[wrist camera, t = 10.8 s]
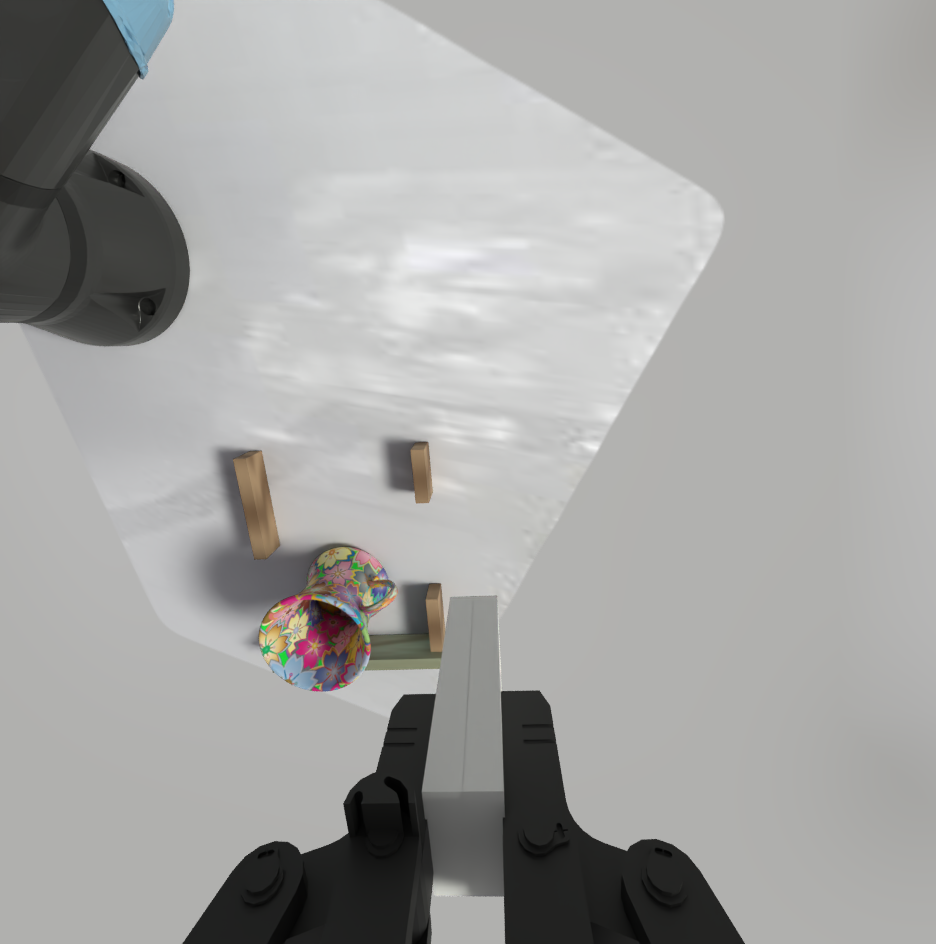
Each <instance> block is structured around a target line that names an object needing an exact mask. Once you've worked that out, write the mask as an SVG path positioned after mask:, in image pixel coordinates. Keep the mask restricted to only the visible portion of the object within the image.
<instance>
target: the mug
mask: <svg viewBox="0 0 936 944" xmlns="http://www.w3.org/2000/svg"><path fill="white" fill-rule="evenodd" d="M389 587H390V588H391V590H390V592H389ZM397 593H398V590H397V587H396V585H395V584H394V583H393V582H392V581H390V580H388V576H387V574H386V571H385V570H384V568H383V566H382V565H381V564H380V563H379V561H378V560H376V559H375V558H374V557H373V556H372V555H370V554H368V553H367V552H365V551H362V550H360V549H356V548H352V547H338V548H333V549H330V550H328V551H326V552H324V553H322V554H321V555H319V556H318V557H317V558H316V559H315V560H314V561H313V563H312V564H311V566H310V568H309V571H308V575H307V586H306V588H305V589H304V590H303V591H302V592H300V593H299V594H297V595H294V596H291V597H288V598H286V599H284V600H282V601H280V602H278V603H277V604H276V605H274V606H273V607H272V608H271V609H270V610H269V611H268V612H267V614H266V615H265V617H264V619H263V621H262V623H261V626H260V630H259V645H260V649H261V652H262V655H263V657H264V659H265V661H266V662H267V664H268V665H269V667H270V668H271V669H272V670H273V671H274V672H275V673H276V674H277V675H278V676H279V677H280V678H282V679H283V680H285V681H286V682H288V683H290V684H292V685H294V686H296V687H299V688H302V689H306V690H310V691H332V690H337V689H340V688H343V687H345V686H347V685H349V684H351V683H352V682H353V681H355V680H356V679H357V678H358V677H359V676H360V675H361V674H362V673H363V671H364V670H365V668H366V666H367V664H368V661H369V658H370V652H371V644H370V638H369V634H368V630H367V627H368V621H369V619H370V617H372V616H374V615H375V614H377V613H378V612H379V611H380V610H381V609H383V608H385V607H386V606H387V605H389V604H390V603H391V602H392V601H393V600H394V599H395V597H396V596H397Z"/></svg>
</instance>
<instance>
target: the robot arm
mask: <svg viewBox="0 0 936 944" xmlns="http://www.w3.org/2000/svg"><path fill="white" fill-rule="evenodd" d="M173 13H174V1H173V0H0V323H26V324H29V325H32V326H34V327H37V328H40V329H43V330H46V331H48V332H51V333H54V334H57V335H59V336H62V337H65V338H68V339H71V340H73V341H76V342H80V343H84V344H89V345H95V346H129V345H136V344H140V343H144V342H146V341H149V340H151V339H153V338H155V337H157V336H158V335H160V334H161V333H162V332H164V331H165V330H166V329H167V328H168V327H169V326H170V325H171V324H172V323H173V321H174V320H175V319H176V317H177V316H178V314H179V312H180V311H181V309H182V306H183V304H184V302H185V299H186V295H187V291H188V286H189V275H190V268H189V256H188V250H187V246H186V242H185V239H184V235H183V233H182V230H181V227H180V225H179V223H178V221H177V219H176V217H175V215H174V213H173V212H172V210H171V208H170V207H169V205H168V204H167V202H166V201H165V199H164V198H163V197H162V196H161V194H160V193H159V192H158V191H157V190H156V189H155V188H154V187H153V186H152V185H151V184H150V183H149V182H148V181H147V180H146V179H145V178H143V177H142V176H141V175H139V174H138V173H137V172H135V171H134V170H132V169H131V168H129V167H127V166H125V165H123V164H121V163H119V162H117V161H115V160H113V159H111V158H108V157H106V156H104V155H102V154H100V153H97V152H95V151H92V150H89V149H90V147H91V146H92V144H93V143H94V141H95V140H96V138H97V137H98V135H99V134H100V133H101V131H102V130H103V128H104V127H105V125H106V124H107V122H108V121H109V119H110V118H111V116H112V115H113V113H114V112H115V110H116V109H117V108H118V106H119V105H120V103H121V102H122V100H123V99H124V97H125V96H126V94H127V93H128V91H129V90H130V88H131V87H132V85H133V84H134V82H135V81H136V80H137V78H138V77H140V78H141V79H144V78H145V76H146V75H147V73H148V66H147V63H148V61H149V60H150V58H151V56H152V55H153V53H154V51H155V50H156V48H157V46H158V45H159V43H160V41H161V40H162V38H163V36H164V35H165V33H166V31H167V29H168V28H169V26H170V24H171V22H172V18H173ZM499 643H500V642H499V622H498V603H497V596H470V597H450V603H449V610H448V616H447V623H446V630H445V637H444V644H443V650H442V657H441V664H440V671H439V678H438V684H437V691H436V694H409V695H403V696H402V698H401V699H400V700H399V702H398V703H397V704H396V706H395V707H394V708H393V710H392V712H391V716H390V720H389V724H388V728H387V732H386V735H385V739H384V746H383V747H382V751H381V755H380V758H379V762H378V767H377V770H376V772H375V773H372V774H370V775H369V776H367V777H365V778H363V779H361V780H360V781H359V782H358V783H357V784H356V785H355V786H354V787H353V788H352V789H351V790H350V792H349V794H348V795H347V798H346V800H345V801H344V803H343V804H344V810H345V815H346V821H347V826H348V832H349V833H348V834H346V835H345V836H344V837H342V838H341V839H340V840H338V841H335V842H333V843H331V844H329V845H326V846H324V847H321V848H318V849H315V850H312V851H309V852H307V853H304V854H300V852H299V850H298V848H297V847H295V846H294V845H292V844H290V843H289V842H278V841H274V842H272V843H269V844H266V845H262V846H260V847H258V848H257V849H255V850H254V851H253V852H251V853H250V854H248V855H247V856H245V857H244V859H243V860H242V861H241V862H240V863H239V864H238V865H237V866H236V868H235V869H234V870H233V871H232V873H231V874H230V875H229V877H228V878H227V880H226V881H225V883H224V884H223V886H222V887H221V888H220V890H219V891H218V893H217V894H216V896H215V897H214V899H213V900H212V902H211V903H210V905H209V906H208V907H207V909H206V910H205V912H204V913H203V915H202V916H201V918H200V919H199V921H198V922H197V923H196V925H195V926H194V928H193V929H192V931H191V932H190V933H189V935H188V936H187V938H186V939H185V941H184V942H183V944H431V935H432V932H431V918H430V904H431V894H432V885H433V890H434V896H504V913H505V944H745V943H744V942H743V940H742V938H741V937H740V935H739V934H738V932H737V930H736V928H735V927H734V925H733V924H732V922H731V920H730V919H729V917H728V916H727V914H726V912H725V911H724V909H723V907H722V906H721V904H720V903H719V901H718V899H717V898H716V896H715V895H714V893H713V891H712V890H711V888H710V886H709V885H708V883H707V881H706V880H705V878H704V877H703V875H702V873H701V872H700V870H699V869H698V868H697V867H696V866H695V864H694V863H693V862H692V860H691V859H690V858H689V857H688V856H687V855H686V854H685V853H683V852H682V851H681V850H679V849H678V848H676V847H675V846H674V845H672V844H669V843H666V842H663V841H660V840H657V839H651V840H650V839H648V840H640V841H639V842H637V843H635V844H633V845H631V846H630V847H629V849H628V851H625V850H622V849H620V848H617V847H614V846H611V845H608V844H605V843H603V842H601V841H599V840H596V839H594V838H592V837H591V836H590V835H588V834H587V833H586V832H584V831H583V830H582V829H581V828H580V827H579V825H577V823H576V822H575V821H574V819H573V817H572V816H571V814H570V812H569V810H568V806H567V803H566V798H565V792H564V787H563V781H562V774H561V768H560V762H559V756H558V750H557V744H556V738H555V733H554V728H553V720H552V714H551V708H550V705H549V704H548V702H547V701H546V699H545V698H544V696H543V695H542V694H541V692H540V691H502V686H501V661H500V644H499Z"/></svg>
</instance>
